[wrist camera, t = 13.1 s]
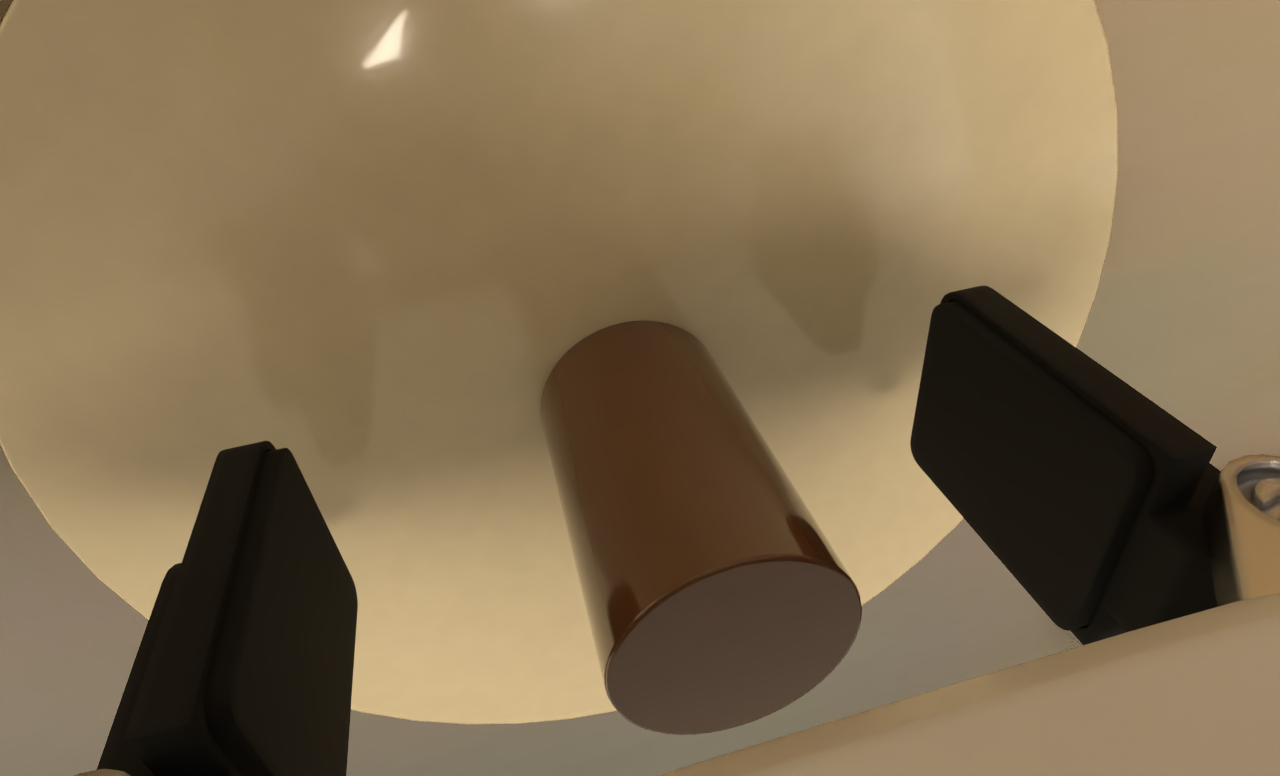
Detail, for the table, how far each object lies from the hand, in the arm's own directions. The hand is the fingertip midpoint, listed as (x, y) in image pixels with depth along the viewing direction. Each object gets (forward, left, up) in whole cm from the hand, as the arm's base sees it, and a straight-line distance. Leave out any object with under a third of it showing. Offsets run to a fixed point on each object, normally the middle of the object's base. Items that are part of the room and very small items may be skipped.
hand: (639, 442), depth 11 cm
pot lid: (0, 0, -2) cm, 2 cm away
